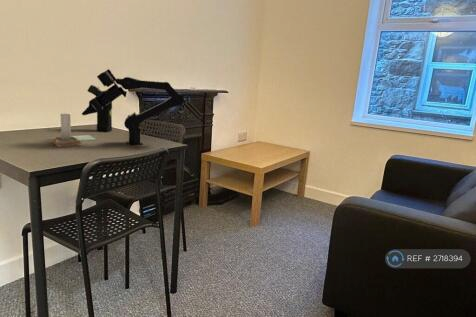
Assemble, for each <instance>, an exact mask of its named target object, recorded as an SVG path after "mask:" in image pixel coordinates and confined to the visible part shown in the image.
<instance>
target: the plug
mask: <svg viewBox="0 0 476 317" xmlns="http://www.w3.org/2000/svg"><path fill="white" fill-rule="evenodd" d="M71 124H72V123H71V114H69V113H60V130H61V132H60V135H61V136H60V137H61V139H60V140H59V141H69V140H73V139H71V136H72V132H71V130H72V129H71V128H72V127H71Z"/></svg>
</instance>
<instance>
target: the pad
mask: <svg viewBox="0 0 476 317" xmlns="http://www.w3.org/2000/svg"><path fill="white" fill-rule="evenodd" d="M73 136H74V137H76V138H77V139H79V140H80V142H85V141H86V142H87V141H88V142H89V141H96V140H97V139H96V138H95V137H93V136H92V135H89V134H88V135H86V134H85V135H71V137H73Z"/></svg>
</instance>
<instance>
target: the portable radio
mask: <svg viewBox="0 0 476 317" xmlns="http://www.w3.org/2000/svg"><path fill="white" fill-rule="evenodd" d="M97 88H98V89H99V90H100V86H97ZM101 91H102V92H103V91H104V90H101ZM112 109H113V101H112V102H111V103H109V104H108V105H106V106H105V107H104V108H103V109H102V110H101V111H99V112H96V131H97V132H102V133H103V132H104V133H108V132H112V130H113V125H112V122H113V121H112V119H113V118H112V117H113V116H112Z"/></svg>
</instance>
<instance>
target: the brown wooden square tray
mask: <svg viewBox="0 0 476 317" xmlns="http://www.w3.org/2000/svg"><path fill="white" fill-rule="evenodd" d="M72 136H73V137H71V139H73V140H69V141H59V140H60V139H61V136H56V137H55V136H54V137H53V136H52V138H51V141H52V143H53V144H54V145H55V146H56V147H59V148H60V147H61V148H62V147H63V148H64V147H76V146H78V147H79V146H81V144H82V141H80V140H79V139H77V138H76V137H74V136H75V135H72Z"/></svg>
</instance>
